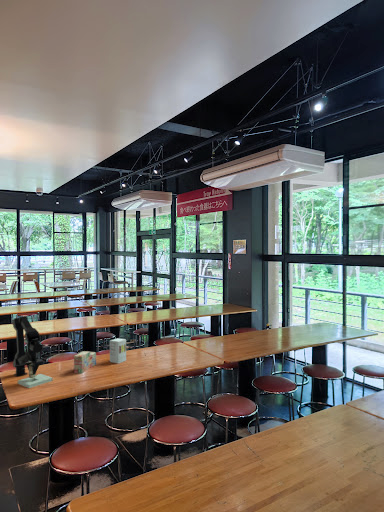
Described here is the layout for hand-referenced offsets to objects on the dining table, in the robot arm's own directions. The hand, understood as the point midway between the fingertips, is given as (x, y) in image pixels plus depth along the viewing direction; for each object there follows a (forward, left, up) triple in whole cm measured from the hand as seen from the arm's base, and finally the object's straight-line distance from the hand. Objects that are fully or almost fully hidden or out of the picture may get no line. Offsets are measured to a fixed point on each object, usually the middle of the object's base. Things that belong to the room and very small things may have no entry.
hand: (32, 373), depth 225 cm
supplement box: (+10, +64, -6) cm, 65 cm away
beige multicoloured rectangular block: (+4, +39, -6) cm, 39 cm away
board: (0, +2, -6) cm, 6 cm away
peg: (0, 0, -2) cm, 2 cm away
